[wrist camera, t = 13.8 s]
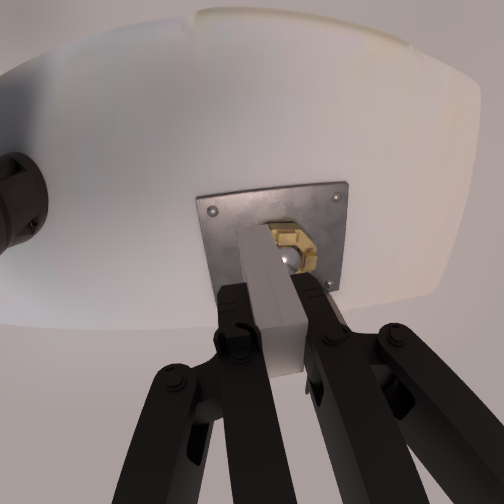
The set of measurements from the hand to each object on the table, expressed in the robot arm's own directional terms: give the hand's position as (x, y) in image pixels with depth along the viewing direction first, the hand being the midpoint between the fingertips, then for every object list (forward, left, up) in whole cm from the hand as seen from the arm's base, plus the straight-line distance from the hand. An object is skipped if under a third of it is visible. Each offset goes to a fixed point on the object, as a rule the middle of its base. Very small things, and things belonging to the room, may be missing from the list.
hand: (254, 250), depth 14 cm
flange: (+6, -15, -24) cm, 29 cm away
